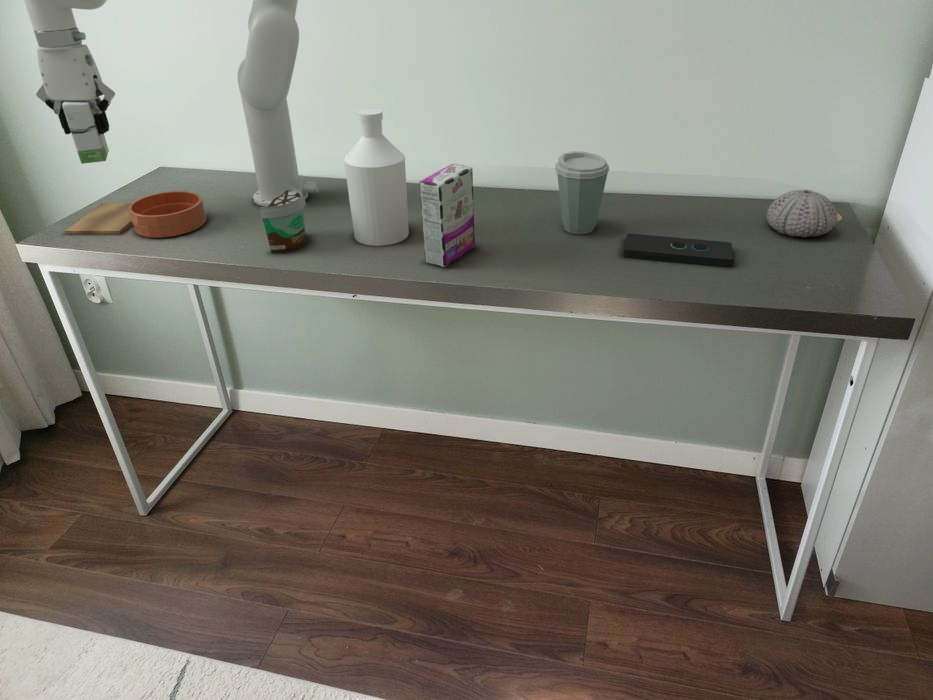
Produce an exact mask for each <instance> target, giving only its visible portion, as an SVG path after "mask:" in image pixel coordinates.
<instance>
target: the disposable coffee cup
mask: <svg viewBox="0 0 933 700" xmlns="http://www.w3.org/2000/svg"><path fill="white" fill-rule="evenodd" d="M557 158H558V159H557V162H556V163H555V167H554V170H555V172H556V175H557V185H558V192H559V204H560V211H561V218H562V219H561V221H562V225H563V228H564V231H565V232H568V233H570V234H574V235H587V234H589V233H592V232H593V231H594V230H595V227H596V225H597V222H598V217H599V213H600V209H601V204H602V200H603V195H604V192H605V187H606V182H607V178H608V173H609V172H610V166H609V164H608V162H607V160H606V159H605V158H604V157H602V156H601V155H598V154H596V153H592V152H588V151H569V152H565V153H563V154H561V155H560V156H559V157H557Z"/></svg>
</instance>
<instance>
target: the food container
mask: <svg viewBox="0 0 933 700" xmlns="http://www.w3.org/2000/svg"><path fill="white" fill-rule="evenodd" d="M306 205H307V202H306V199H304V197H303V195H302V194H301V192H300V191H299V190H298V189H295V188H291V187H285V192H284V193H283V194H282V195H281V196H279V197H277V198H275V199H274V200H273V201H272V202H271V203H270V204H269V206H268V207H264V206H260V208H259V209H260V211H259V214H260V219H262V220H263V221H262V222H263V226H264V229H265V233H266V237H267V242H268V245H269V249H270V253H271V254H282V253H289V252H293V251H295V250H298V249H299V250H300V248H302V247H303V246H304V245H305V244H306V230H305V229H306V228H305V214H304V209H305V207H306Z"/></svg>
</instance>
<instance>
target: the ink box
mask: <svg viewBox="0 0 933 700" xmlns="http://www.w3.org/2000/svg"><path fill="white" fill-rule="evenodd" d="M62 105H63V110H64V113H65V116H66V119H67V122H68V125H69V128H70V131H71V133H70V134H71V136H72V140H73V143H74V147H75V149H76V152H77V155H78V159H79V161H80V163H81V165H83V164H92V163H101V162H106V161H107V158H108V155H109V153H110V149H109V146H108V142H107V139H106V137H105V133H104V134H100V133H99V132H98V129H97V126H96V122H95V119H94V114H96V113H95V111H94V110H93V108H92V107H91V106H90V104H89V102H87V101H64V102H63V104H62Z"/></svg>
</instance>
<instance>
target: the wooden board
mask: <svg viewBox="0 0 933 700" xmlns="http://www.w3.org/2000/svg"><path fill="white" fill-rule="evenodd" d="M132 203H133V202H127V203H126V202H124V203H123V202H120V203H119V202H118V203H117V202H109V203H108V202H105V203H103V202H101V203H100V204H99V205H97V206H96V207H94V208H93V209H92V210H91V211H89V212H88V213H86V214H85V215H84V216H82V217H81V218H79V219H78V220H77V221H76V222H75V223H73V224H72V225H70V226H69V227H68V228H66V229H65V230H64V232H65V234H66V235H122V234H123V233H124V232H125V231H127V229H128V228H130V227H131V226H133V224H132V221H131V217H130V214H129V211H128V208H129V206H130V205H131V204H132Z"/></svg>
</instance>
